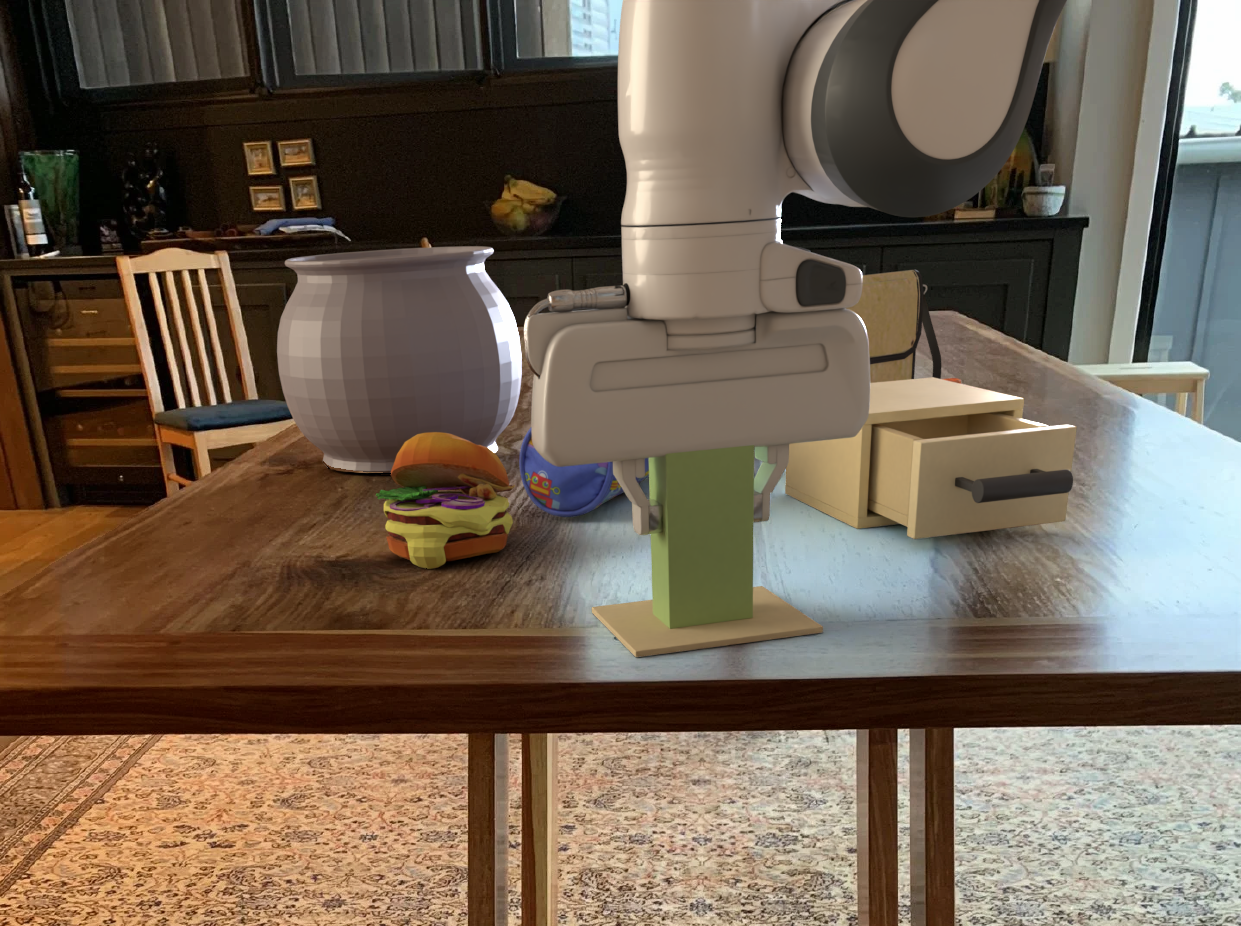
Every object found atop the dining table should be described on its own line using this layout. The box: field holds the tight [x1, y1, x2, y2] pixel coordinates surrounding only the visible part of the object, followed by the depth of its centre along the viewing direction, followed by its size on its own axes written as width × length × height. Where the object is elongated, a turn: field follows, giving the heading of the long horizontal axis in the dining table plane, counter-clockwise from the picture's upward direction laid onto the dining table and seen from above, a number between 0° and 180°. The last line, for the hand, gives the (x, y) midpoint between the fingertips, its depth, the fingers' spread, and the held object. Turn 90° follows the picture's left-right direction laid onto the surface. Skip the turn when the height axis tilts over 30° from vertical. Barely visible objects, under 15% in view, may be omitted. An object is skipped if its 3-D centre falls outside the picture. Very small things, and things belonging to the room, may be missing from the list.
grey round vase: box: [276, 245, 523, 473], centre depth 135 cm, size 25×25×20 cm
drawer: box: [867, 412, 1078, 540], centre depth 99 cm, size 18×12×7 cm
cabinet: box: [784, 376, 1025, 530], centre depth 108 cm, size 15×14×9 cm
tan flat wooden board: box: [591, 585, 824, 658], centre depth 83 cm, size 12×10×1 cm
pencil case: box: [518, 427, 649, 518], centre depth 116 cm, size 22×9×10 cm, turn 159°
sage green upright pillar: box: [648, 445, 755, 629], centre depth 81 cm, size 6×4×11 cm, turn 105°
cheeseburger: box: [375, 432, 516, 570], centre depth 101 cm, size 10×11×10 cm
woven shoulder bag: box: [846, 268, 942, 383], centre depth 138 cm, size 30×7×15 cm, turn 123°
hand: (701, 526), depth 80 cm, fingers closed on sage green upright pillar, 5 cm apart
